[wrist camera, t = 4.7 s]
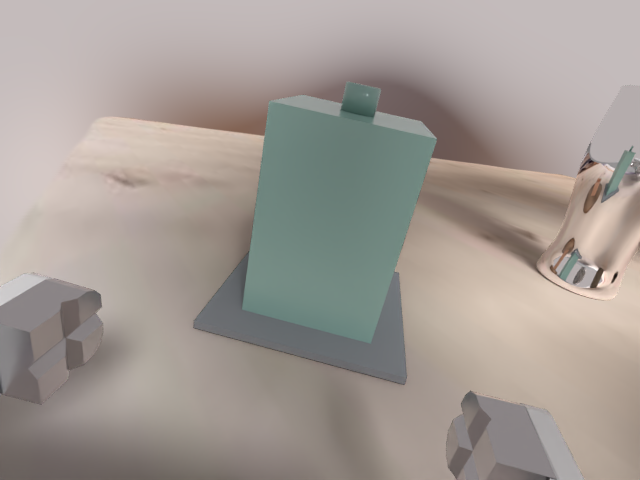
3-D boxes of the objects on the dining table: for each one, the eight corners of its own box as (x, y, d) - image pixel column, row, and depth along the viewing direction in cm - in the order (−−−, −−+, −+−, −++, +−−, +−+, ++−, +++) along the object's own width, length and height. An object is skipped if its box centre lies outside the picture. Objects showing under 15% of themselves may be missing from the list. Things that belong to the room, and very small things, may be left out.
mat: (258, 242, 26) (259, 237, 26) (397, 277, 26) (398, 272, 26) (193, 327, 17) (193, 320, 17) (404, 384, 17) (406, 378, 17)
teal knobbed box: (276, 253, 25) (306, 71, 20) (373, 278, 24) (428, 98, 20) (241, 309, 19) (274, 67, 14) (370, 343, 18) (447, 105, 14)
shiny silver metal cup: (635, 315, 28) (776, 107, 22) (537, 283, 30) (641, 82, 23) (605, 276, 34) (708, 105, 28) (525, 252, 36) (605, 85, 29)
